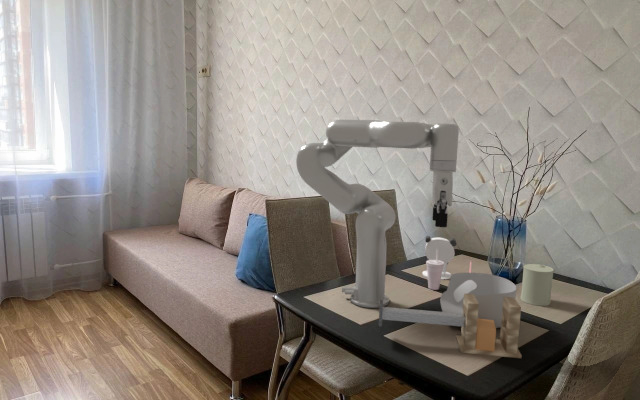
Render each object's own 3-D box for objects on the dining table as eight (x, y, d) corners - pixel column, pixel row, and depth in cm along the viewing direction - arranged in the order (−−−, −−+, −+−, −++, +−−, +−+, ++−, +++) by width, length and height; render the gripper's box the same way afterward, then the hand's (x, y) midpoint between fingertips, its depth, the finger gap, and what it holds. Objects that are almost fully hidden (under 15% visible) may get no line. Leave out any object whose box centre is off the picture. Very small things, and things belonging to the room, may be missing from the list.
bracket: (460, 352, 112) (464, 303, 111) (456, 338, 120) (459, 292, 118) (521, 358, 110) (526, 308, 108) (512, 343, 118) (517, 296, 116)
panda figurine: (452, 272, 179) (455, 235, 177) (454, 281, 168) (457, 242, 166) (422, 269, 182) (424, 233, 179) (422, 278, 171) (424, 240, 169)
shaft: (378, 326, 116) (379, 308, 115) (379, 317, 122) (380, 299, 121) (467, 334, 113) (468, 315, 112) (463, 324, 118) (464, 306, 118)
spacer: (475, 348, 113) (477, 326, 112) (473, 339, 118) (475, 318, 117) (494, 351, 112) (496, 329, 111) (491, 341, 117) (493, 320, 116)
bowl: (523, 336, 122) (527, 296, 121) (452, 333, 124) (455, 292, 122) (499, 308, 142) (502, 273, 140) (438, 305, 144) (441, 270, 142)
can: (554, 300, 150) (557, 266, 148) (545, 308, 143) (549, 272, 141) (525, 293, 156) (528, 260, 154) (516, 300, 149) (519, 266, 148)
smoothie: (444, 291, 157) (447, 252, 154) (426, 290, 157) (428, 252, 155) (440, 285, 163) (442, 248, 161) (422, 284, 163) (425, 247, 161)
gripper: (460, 169, 121) (456, 230, 123) (452, 164, 138) (448, 219, 140) (432, 168, 122) (428, 228, 125) (427, 164, 139) (424, 217, 142)
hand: (439, 223), depth 132 cm, fingers open, 9 cm apart
